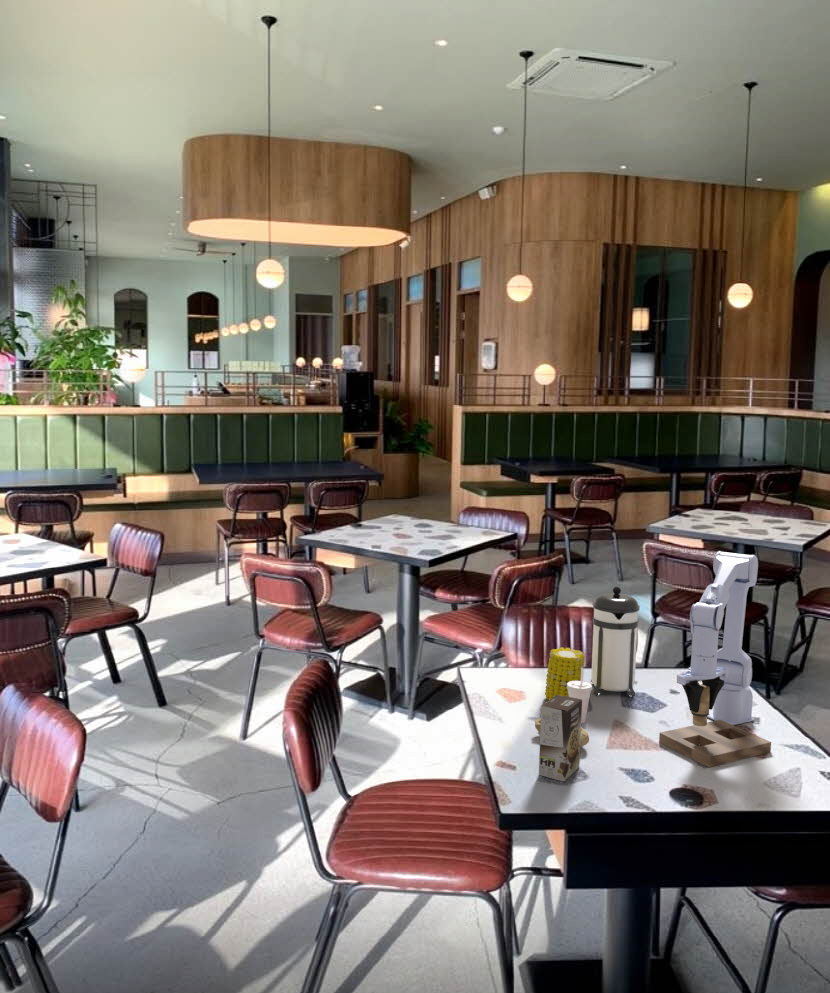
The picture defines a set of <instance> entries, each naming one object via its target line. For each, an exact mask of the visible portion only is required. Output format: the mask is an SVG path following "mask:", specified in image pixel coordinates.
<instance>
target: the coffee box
mask: <svg viewBox="0 0 830 993" xmlns="http://www.w3.org/2000/svg"><path fill="white" fill-rule="evenodd" d="M540 711H541V712H540V719H541V730H540V732H539V756H538V757H539V758H538V776H542V777H545V778H548V779H553V780H556V781H559V782H565V781H566V780H567V779H569V778H570V777H571V776H572V775H573V774H574V773H575V772H576V771H577V770H578V769H579V768H580V761H581V759H580V757H581V747H580V739H581V727H582V723H581V715H582V700H581V699H577V698H572V697H566V696H560V695H556V696H555V697H553V698H552V699H550V700H549V699H548V700H547V701H546V702H544V703H543V704H541V709H540Z"/></svg>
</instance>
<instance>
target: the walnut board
mask: <svg viewBox="0 0 830 993" xmlns="http://www.w3.org/2000/svg"><path fill="white" fill-rule="evenodd" d="M658 743H659V744H661V745H663V746H665V747H667V748H669V749H671V750H673V751H674V752H677V753H678V754H681V755H683V756H685V757H687V758H689V759H691V760H693V761H695V762H697V763H698V764H701V765H703V766H704V767H706V768H712V767H716V766H720V765H724V764H728V763H732V762H736V760H737V761H740V759H741V760H745V759H748V758H753V757H756V756H760V755H763V754H764V755H765V754H770V753H771V751H772V750H771V749H772V741H770V740H767V739H765V738H763V737H761V736H759V735H756V734H754V733H752V732H749V731H747V730H744V729H743V728H740V727H738V726H737V725H731V724H729V723H727V722H724V721H722V720H716V721H715V720H711V721H707V725H706V726H696V725H694V724H692V725H689V726H685V727H680V728H676V729H671V730H670V729H669V730H666V731H661V732H659V735H658Z"/></svg>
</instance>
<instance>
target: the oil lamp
mask: <svg viewBox="0 0 830 993" xmlns="http://www.w3.org/2000/svg"><path fill="white" fill-rule="evenodd" d="M534 723H535V724H534V727H535V729H536V730H537V731H538V733H540V730H541V718H537V719H535V721H534ZM589 742H590V735H589V733H588V732H587V730H586V729H585V728H583V727H582V726H581V739H580V748H581V747H584V746H586V745H588V744H589Z"/></svg>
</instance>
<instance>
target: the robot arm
mask: <svg viewBox="0 0 830 993" xmlns="http://www.w3.org/2000/svg"><path fill="white" fill-rule="evenodd" d="M758 560H759V559H758V557H757V556H756V555H755V554H744V553H734V552H727V551H722V550H719V551H717V552H716V553H715V555H714V558H713V563H712V566H713V569H712V570H713V573H714V575H715V578H714V580H713V583H710V584H709V585H707V586H706V587H705V589H704V592H702V595H701V597H700V599H699V602H696V603H693V604H692V605H691V608H690V612H689V623H690V633H691V634H692V638H691V657H690V658H691V659H690V667H688V670H686V671H684V672H683V673H679V674H677V675H676V684H679V685H681V686H682V688H683V690H684V693H685V694H686V698H687V703H688V706H689V711H693V712H695V713H697V712H698V711H699V705H700V698H701V694H702V692H703V689H704V686H701V685H699V684H700V683H699V682H701V684H702V685H707V686H709V687H710V698H709V711H711V710H712V712H711V713H709V715H708V716H707V719H711V721H716V720H722V721H724V722H727V723H729V724H731V725H733V726H737V725H740V724H745V723H748V722H753V721H755V718H753V717H752V714H753V713H752V710H753V700H754V699H753V698H754V696H753V692H752V690H751V688H750V685H751V683H752V678H753V667H752V666H753V662H752V658H751V657H750V656H749V655H748V654H747V653H746V652H745V650H743V649H742V647H743V637H744V629H745V628H744V627H745V618H746V607H747V596H748V592H749V588H750V587H755V586H756V583H757V580H758V579H757V578H758V571H759V570H758V569H759V561H758ZM725 608H726V609H725ZM724 615H725V616H724ZM724 617H725V619H724ZM723 619H724V629H723V636H722V637H723V640H722V647H721V648H720V649H718V648H719V647H718V645H719V631H720V629H721V627H722V624H723Z"/></svg>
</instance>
